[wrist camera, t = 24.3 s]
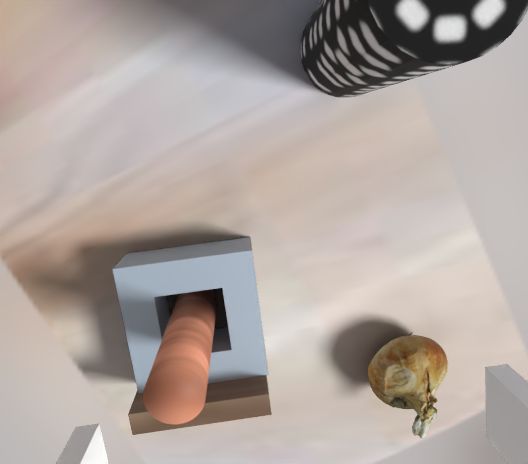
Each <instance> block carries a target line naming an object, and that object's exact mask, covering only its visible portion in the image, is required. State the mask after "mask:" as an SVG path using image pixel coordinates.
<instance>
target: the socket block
mask: <svg viewBox="0 0 528 464" xmlns="http://www.w3.org/2000/svg"><path fill="white" fill-rule="evenodd" d="M112 270H113V275H114V279H115V284H116V289H117V294H118V298H119V303H120V308H121V313H122V317H123V322H124V327H125V332H126V337H127V341H128V346H129V351H130V356H131V360H132V365H133V370H134V375H135V379H136V384H137V389H138V394H139V393H143V391H144V388H145V385H146V382H147V379H148V377H149V374H150V371H151V369H152V366H153V363H154V360H155V358H156V355H157V352H158V350H159V347H160V344H161V342H162V339H163V336H164V333H165V331H166V328H167V325H168V323H169V320H170V314H169V308H168V303H167V297H166V295H173V294H181V293H188V292H195V291H202V290H210V289H217V288H222V289H223V296H224V302H225V309H226V315H227V322H228V327H224V328H217V329H214V335H213V343H212V351H211V359H210V367H209V375H208V383H207V384H209V383H216V382H223V381H230V380H237V379H244V378H251V377H257V376H264V375H269V374H268V367H267V359H266V352H265V344H264V337H263V329H262V322H261V314H260V307H259V299H258V292H257V284H256V277H255V269H254V262H253V254H252V247H251V239H250V237H247V238H239V239H232V240H224V241H217V242H209V243H202V244H194V245H187V246H179V247H172V248H164V249H157V250H149V251H142V252H134V253H127V254H126V255H125V256H124V257H123V258H122V259H121V260H120V261H119V262H118V264H117V265H116V266H115V267H114V268H113V269H112Z"/></svg>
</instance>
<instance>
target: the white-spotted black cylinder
mask: <svg viewBox="0 0 528 464" xmlns="http://www.w3.org/2000/svg"><path fill="white" fill-rule="evenodd" d="M527 10H528V0H322V1H321V3H320V4H319V6H318V8H317V9H316V11H315V12H314V14H313V15H312V17H311V18H310V20H309V21H308V23H307V25H306V27H305V30H304V32H303V36H302V40H301V49H300V52H301V61H302V64H303V67H304V70H305V72H306V74H307V76H308V78H309V79H310V80H311V81H312V83H313V84H314V85H315V86H316V87H318V88H319V89H320V90H321V91H323V92H325V93H327V94H329V95H332V96H336V97H344V98H348V97H354V96H358V95H361V94H365V93H368V92H371V91H374V90H377V89H381V88H384V87H387V86H390V85H393V84H397V83H400V82H403V81H406V80H410V79H413V78H416V77H419V76H422V75H426V74H429V73H432V72H435V71H438V70H441V69H445V68H448V67H451V66H455V65H457V64H461V63H464V62H467V61H470V60H472V59H475V58H478V57H480V56H483V55H484V54H486V53H488V52H489V51H491V50H493V49H494V48H496V47H497V46H498V45H500V44H501V43H502V42H503V41H504V40H505V39H506V38H508V37H509V36H510V35H511V34H512V32H513V31H514V30H515V29H516V27H517V26H518V25H519V23H520V22H521V21H522V19H523V18H524V16H525V14H526V12H527Z"/></svg>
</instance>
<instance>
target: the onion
mask: <svg viewBox="0 0 528 464" xmlns="http://www.w3.org/2000/svg"><path fill="white" fill-rule="evenodd" d="M412 333H413V332H412ZM412 333H411V334H412ZM411 334H410V335H411ZM410 335H408V336H403V337H401V336H400V337H399V338H396V339H393V340H391V341H390V342H388V343H387V344H385V345H384V346H383V347H382V348H381V349H380V350H379V351H378V352H377V353H376V355H375V356H374V358H373V359H372V361H371V363H370V365H369V367H368V378H369V382H370V385H371V388H372V390H373V392H374V393H375V394H376V396H377V397H378V398H379V399H380V400H382V401H383V402H384V403H386V404H388V405H390V406H392V407H397V408H402V409H414V410H415V411H416V412H417V414H418V415H417V417H416V418H415V421H414V424H413V426H412V430H413V434H414V435H415V436H416V435H419V436H420V438H422V439H423V438H424V437H425V435H426V432H427V429H428V427H429V425H430V423H431V421H432V420H434V419H435V418H436V416H437V409H436V408H434V407H433V404H434V403H436V402H437V399H436V398H435V391H436V389H437V388H438V387H439V385H440V384H441V382H442V381H443V379H444V377H445V375H446V373H447V358H446V354H445V352H444V350H443V349H442V348H441V346H440V345H439V344H438V343H436V342H435V341H433V340H431V339H430V338H426V337H423V336H416V335H415V336H410Z"/></svg>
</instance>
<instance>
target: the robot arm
mask: <svg viewBox="0 0 528 464" xmlns="http://www.w3.org/2000/svg"><path fill="white" fill-rule="evenodd" d="M485 385H486V438H487V439H488V440H489V441H490V443H491V444H492V445H493V446H494V447H495V449H496V450H497V451H498V452H499V454H500V455H501V456H502V457H503V458H504V460H505V461H506V462H507V463H508V464H528V381H526V380H525V379H524V378H523V377H522V376H520V375H519V374H518V373H517V372H516V371H515V370H513V369H512V368H511V367H510V366H509V365H508V364H505V365H498V366H491V367H485ZM56 464H109V463H108V459H107V455H106V451H105V446H104V442H103V438H102V434H101V430H100V425H99V424H94V425H87V426H80V427H76V428H75V430H74V431H73V433H72V435H71V437H70V439H69V441H68V442H67V444H66V446H65V448H64V450H63V452H62V453H61V455H60V457H59V459H58V461H57V463H56Z"/></svg>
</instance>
